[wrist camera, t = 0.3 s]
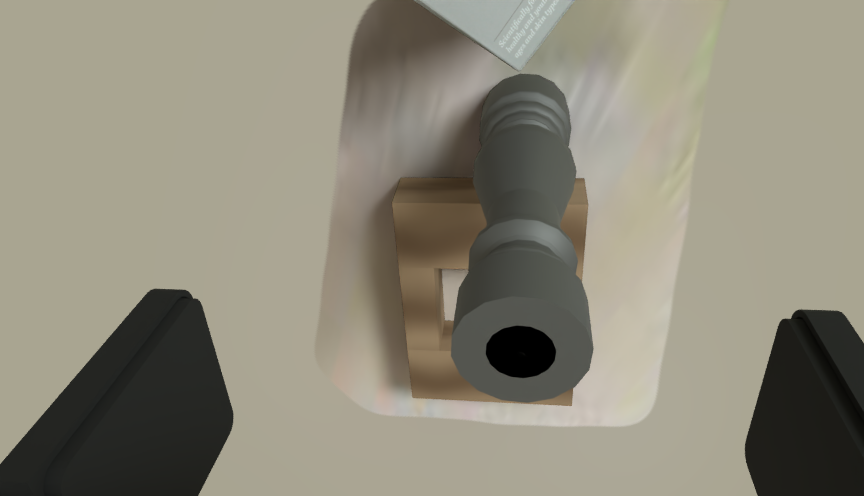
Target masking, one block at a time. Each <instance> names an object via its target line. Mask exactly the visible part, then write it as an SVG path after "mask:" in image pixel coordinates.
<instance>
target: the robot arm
mask: <svg viewBox="0 0 864 496" xmlns="http://www.w3.org/2000/svg"><path fill="white" fill-rule="evenodd" d="M232 425H233V410H232V406H231V403H230V400H229V396H228V393H227V390H226V386H225V382H224V379H223V376H222V372H221V369H220V365H219V362H218V359H217V355H216V352H215V348H214V345H213V342H212V339H211V335H210V331H209V328H208V325H207V322H206V318H205V314H204V311H203V307H202V305H201V302H200V301H199V300H198V299H193V297H192V295H191V294H190V293H189V292H188V291H186V290H174V289H153V290H150V291H149V292H148V293H147V294H146V295H145V296H144V297H143V298H142V300H141V301H140V302H139V303H138V304H137V305H136V307H135V308H134V309H133V310H132V311H131V313H130V314H129V315H128V316H127V317H126V318H125V320H124V321H123V322H122V323H121V324H120V325H119V326H118V328H117V329H116V330H115V331H114V332H113V333H112V335H111V336H110V337H109V338H108V339H107V340H106V342H105V343H104V344H103V345H102V346H101V348H100V349H99V350H98V351H97V352H96V353H95V355H94V356H93V357H92V358H91V359H90V360H89V362H88V363H87V364H86V365H85V366H84V367H83V369H82V370H81V371H80V372H79V373H78V374H77V375H76V377H75V378H74V379H73V380H72V381H71V382H70V384H69V385H68V386H67V387H66V388H65V389H64V391H63V392H62V393H61V394H60V395H59V396H58V398H57V399H56V400H55V401H54V402H53V403H52V405H51V406H50V407H49V408H48V409H47V410H46V411H45V413H44V414H43V415H42V416H41V417H40V419H39V420H38V421H37V422H36V423H35V424H34V425H33V427H32V428H31V429H30V430H29V431H28V433H27V434H26V435H25V436H24V437H23V438H22V440H21V441H20V442H19V443H18V444H17V445H16V446H15V448H14V449H13V450H12V451H11V452H10V454H9V455H8V456H7V457H6V458H5V459H4V460H3V462H2V463H1V464H0V496H198V495H199V493H200V491H201V489H202V487H203V485H204V483H205V481H206V479H207V477H208V475H209V473H210V471H211V469H212V467H213V465H214V463H215V461H216V460H217V458H218V456H219V454H220V452H221V450H222V448H223V446H224V444H225V442H226V440H227V438H228V436H229V434H230V431H231V429H232ZM745 457H746V463H747V466H748V469H749V472H750V475H751V478H752V481H753V484H754V486H755V489H756V492H757V495H758V496H864V343H863V342H862V340H861V339H860V337H859V336H858V334H857V333H856V331H855V330H854V328H853V327H852V325H851V324H850V322H849V321H848V320H847V318H846V316H845V315H844V314H843V313H842V312H839V311H826V310H797V311H795V312H794V314H793V315H792V318H791V319H782V320H781V322H780V323H779V326H778V329H777V332H776V336H775V340H774V343H773V347H772V350H771V354H770V357H769V361H768V364H767V368H766V371H765V375H764V378H763V382H762V386H761V389H760V392H759V396H758V400H757V403H756V407H755V410H754V414H753V418H752V421H751V424H750V428H749V431H748V435H747V439H746V443H745Z"/></svg>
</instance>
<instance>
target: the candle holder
mask: <svg viewBox="0 0 864 496" xmlns="http://www.w3.org/2000/svg"><path fill="white" fill-rule="evenodd" d="M570 133H571V123H570V115H569V109H568V106H567V102H566V99H565V96H564V94H563V93H562V92H561V91H560V89H559V88H558V87H557V86H556V85H555V84H554V82H552V81H550V80H548V79H545V78H543V77H541V76H539V75H531V74H518V75H516V76H513V77H510V78H507V79H504V80H502V81H501V82H500V83H499V84H498V85H497V86H495V87H494V88H493V89H492V90H491V91H490V93H489V95H488V97H487V99H486V101H485V103H484V105H483V109H482V115H481V121H480V136H479V140H480V143H481V145H482V147H481V149H480V151H479V153H478V155H477V157H476V159H475V161H474V173H473V184H474V187H475V190H476V193H477V196H478V198H479V201H480V204H481V207H482V210H483V213H484V216H485V219H486V222H487V225H486V227H485V228H484V229H483V230H481V231H480V232H479V234H478V236H477V237H476V239H475V241H474V243H473V244H472V246H471V248H470V251H469V266H468V270H469V272H468V274H467V276H466V277H465V279H464V281H463V282H462V284H461V286H460V287H459V291H458V297H457V304H456V311H455V317H454V324H453V330H452V340H451V357H452V359H453V361H454V364H455V366H456V368H457V370H458V372H459V374H460V375H461V376H462V377H463V378H464V379H465V380H466V381H467V382H469V383H470V384H471V385H472V386H473V387H474V388H476V389H477V390H478V391H480V392H483V393H485V394H488V395H490V396H493V397H495V398H497V399H500V400H505V401H515V402H524V403H530V402H536V401H541V400H547V399H552V398H555V397H557V396H559V395H561V394H562V393H564V392H566V391H568V390H570V389H572V388H574V387H575V386H576V385H577V384H578V383H579V381H580V380H581V379H582V378H583V377H584V375H585V374H586V373H587V372H588V371H589V368H590V363H591V358H592V354H593V341H592V333H591V324H590V316H589V307H588V300H587V296H586V293H585V290H584V287H583V284H582V281H581V279H580V278H579V277H578V276H577V275H576V270H577V264H578V258H577V255H576V252H575V249H574V246H573V243H572V240H571V239H570V237H569V236H568V235H567V234H566V233H565V232H564V231H563V230H562V229H561V227H560V223H561V220H562V218H563V215H564V213H565V210H566V207H567V205H568V202H569V200H570V198H571V195H572V193H573V190H574V184H575V177H576V167H575V163H574V160H573V157H572V153H571V150H570V149H569V148H568V146H569V140H570Z"/></svg>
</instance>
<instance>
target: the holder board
mask: <svg viewBox="0 0 864 496" xmlns="http://www.w3.org/2000/svg"><path fill="white" fill-rule="evenodd" d="M392 210H393V219H394V228H395V238H396V247H397V257H398V266H399V275H400V285H401V294H402V304H403V313H404V322H405V332H406V341H407V350H408V360H409V369H410V379H411V388H412V397H413V398H426V399H445V400H465V401H484V402H504V403H523V404H543V405H562V406H572V396H573V388H572V389H570V390H568V391H566V392H564V393H562V394H561V395H559V396H557V397H555V398H552V399H547V400H541V401H536V402H530V403H524V402H515V401H505V400H500V399H497V398H495V397H493V396H490V395H488V394H485V393H483V392H480V391H478V390H477V389H476V388H474V387H473V386H472V385H471V384H470V383H469V382H467V381H466V380H465V379H464V378H463V377H462V376H461V375H460V374H459V372H458V370H457V368H456V366H455V364H454V361H453V359H452V357H451V340H452V330H453V324H454V321H445V317H444V301H443V285H442V269H468V266H469V251H470V248H471V246H472V244H473V243H474V241H475V239H476V237H477V236H478V234H479V232H480V231H481V230H483V229H484V228H485V227H486V225H487V222H486V219H485V216H484V213H483V210H482V207H481V204H480V201H479V198H478V196H477V193H476V190H475V187H474V184H473V178H401V179H400V181H399V184H398V187H397V190H396V192H395V195H394V198H393V201H392ZM587 213H588V200H587V193H586V187H585V180H584V178H575V184H574V190H573V193H572V195H571V198H570V200H569V202H568V205H567V207H566V210H565V213H564V215H563V218H562V220H561V223H560V227H561V229H562V230H563V231H564V232H565V233H566V234H567V235H568V236H569V237H570V239H571V240H572V243H573V246H574V249H575V252H576V255H577V258H578V264H577V270H576V275H577V276H578V277H579V278H580V279H581V281H582V274H583V262H584V250H585V238H586V225H587ZM441 268H442V269H441Z"/></svg>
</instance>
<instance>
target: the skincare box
mask: <svg viewBox="0 0 864 496" xmlns="http://www.w3.org/2000/svg"><path fill="white" fill-rule="evenodd" d="M414 1H415V2H417V3H418V4H420V5H421V6H422V7H424V8H425V9H427V10H428V11H430V12H431V13H432V14H434V15H435V16H437V17H438V18H440V19H441V20H443V21H444V22H446V23H447V24H449V25H450V26H452V27H453V28H455V29H456V30H457V31H459V32H460V33H462V34H463V35H465V36H466V37H468V38H469V39H471V40H472V41H474V42H475V43H477V44H478V45H480V46H481V47H483V48H484V49H486V50H487V51H489V52H490V53H492V54H493V55H495V56H496V57H498V58H499V59H501V60H502V61H504V62H505V63H506V64H508V65H509V66H511V67H512V68H514V69H515V70H517V71H521V70H522V68H523V67H524V66H525V65H526V63H527V62H528V61H529V60H530V58H531V57H532V56H533V54H534V53H535V52H536V51H537V49H538V48H539V47H540V45H541V44H542V43H543V42H544V40H545V39H546V38H547V36H548V35H549V34H550V32H551V31H552V30H553V28H554V27H555V26H556V24H557V23H558V22H559V20H560V19H561V18H562V17H563V15H564V14H565V13H566V11H567V10H568V9H569V7H570V6H571V5H572V4H573V2H574V1H575V0H414Z"/></svg>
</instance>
